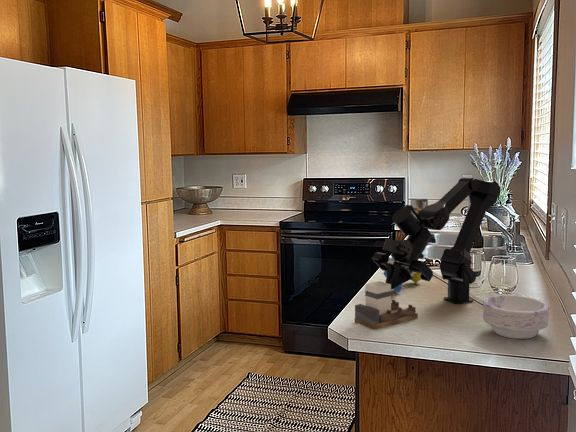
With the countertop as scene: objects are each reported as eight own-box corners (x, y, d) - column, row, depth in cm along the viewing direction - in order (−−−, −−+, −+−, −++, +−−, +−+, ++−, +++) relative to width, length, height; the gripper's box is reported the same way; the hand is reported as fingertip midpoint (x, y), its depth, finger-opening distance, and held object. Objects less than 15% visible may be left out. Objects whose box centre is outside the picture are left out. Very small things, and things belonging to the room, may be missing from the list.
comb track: (396, 311, 162) (396, 294, 162) (417, 317, 156) (417, 300, 155) (354, 322, 154) (354, 304, 153) (374, 329, 147) (374, 311, 146)
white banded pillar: (379, 312, 156) (379, 281, 155) (391, 316, 152) (391, 284, 151) (365, 316, 153) (365, 284, 152) (377, 320, 150) (377, 287, 148)
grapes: (381, 286, 190) (381, 251, 189) (401, 286, 190) (401, 251, 188) (384, 296, 179) (384, 258, 177) (406, 295, 178) (406, 258, 177)
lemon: (405, 284, 193) (405, 261, 192) (410, 280, 198) (410, 258, 197) (421, 285, 190) (421, 262, 189) (425, 282, 195) (425, 259, 194)
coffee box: (427, 226, 321) (427, 198, 319) (428, 228, 315) (428, 199, 313) (410, 226, 323) (410, 198, 321) (411, 228, 316) (411, 199, 314)
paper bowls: (553, 345, 132) (554, 312, 131) (484, 341, 136) (485, 309, 135) (543, 325, 147) (543, 295, 146) (481, 322, 151) (481, 293, 150)
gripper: (376, 224, 162) (347, 267, 157) (425, 231, 147) (395, 279, 142) (396, 248, 168) (368, 290, 163) (445, 257, 152) (417, 304, 147)
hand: (385, 290), depth 154 cm, fingers closed, pressing on white banded pillar
